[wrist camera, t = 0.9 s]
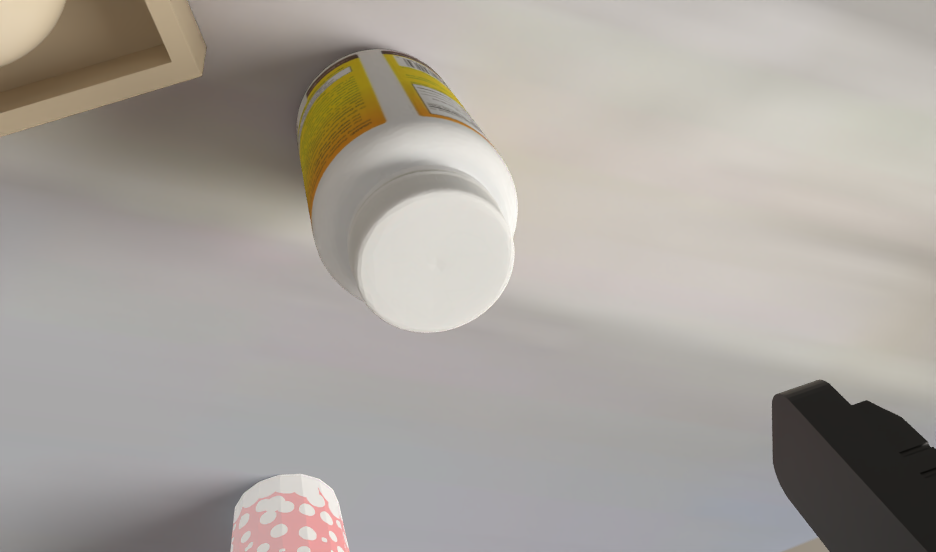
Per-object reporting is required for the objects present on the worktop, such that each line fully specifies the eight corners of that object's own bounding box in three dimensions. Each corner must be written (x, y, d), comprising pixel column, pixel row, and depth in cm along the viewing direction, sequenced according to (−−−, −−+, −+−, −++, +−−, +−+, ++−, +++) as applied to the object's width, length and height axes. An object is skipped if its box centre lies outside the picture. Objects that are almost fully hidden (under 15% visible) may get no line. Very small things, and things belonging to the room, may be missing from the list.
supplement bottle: (301, 204, 28) (325, 374, 20) (288, 47, 26) (309, 164, 17) (454, 192, 30) (539, 347, 21) (456, 41, 27) (556, 149, 18)
